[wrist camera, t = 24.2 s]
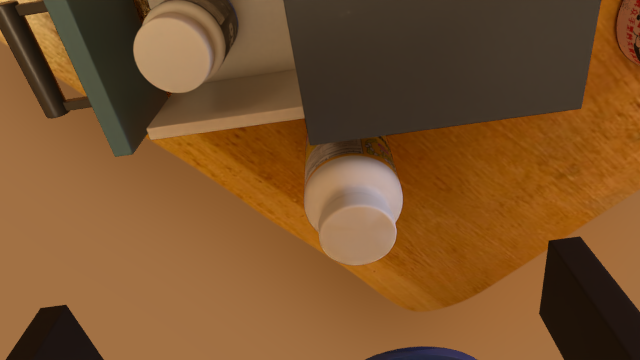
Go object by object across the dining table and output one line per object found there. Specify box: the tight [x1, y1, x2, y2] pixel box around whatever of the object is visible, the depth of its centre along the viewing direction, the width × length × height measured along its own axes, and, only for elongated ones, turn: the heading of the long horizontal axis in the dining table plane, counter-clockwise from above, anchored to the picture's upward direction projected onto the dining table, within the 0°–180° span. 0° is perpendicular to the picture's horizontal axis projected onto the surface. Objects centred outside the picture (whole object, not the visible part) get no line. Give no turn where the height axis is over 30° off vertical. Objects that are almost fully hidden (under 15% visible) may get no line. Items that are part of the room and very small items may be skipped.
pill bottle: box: [133, 0, 239, 93], centre depth 27 cm, size 5×5×8 cm
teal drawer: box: [0, 0, 305, 157], centre depth 28 cm, size 19×11×8 cm, turn 99°
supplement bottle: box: [304, 135, 403, 265], centre depth 32 cm, size 7×7×13 cm
